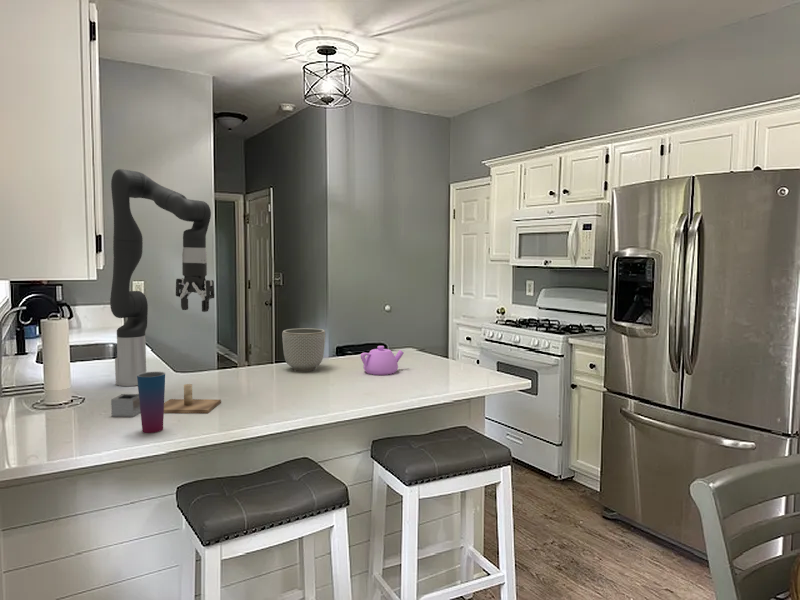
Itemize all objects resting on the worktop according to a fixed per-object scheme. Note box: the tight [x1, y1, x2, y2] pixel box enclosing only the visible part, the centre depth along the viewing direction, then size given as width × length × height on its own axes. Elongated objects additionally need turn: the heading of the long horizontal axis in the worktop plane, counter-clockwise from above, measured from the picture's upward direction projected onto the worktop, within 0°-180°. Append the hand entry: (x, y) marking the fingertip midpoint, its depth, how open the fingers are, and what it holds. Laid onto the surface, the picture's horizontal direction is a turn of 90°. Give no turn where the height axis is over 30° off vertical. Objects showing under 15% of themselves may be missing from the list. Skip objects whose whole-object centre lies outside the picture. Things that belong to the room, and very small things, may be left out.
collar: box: [110, 393, 141, 418], centre depth 163 cm, size 6×6×5 cm
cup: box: [137, 371, 166, 434], centre depth 147 cm, size 7×7×15 cm
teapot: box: [360, 345, 404, 376], centre depth 224 cm, size 14×20×11 cm
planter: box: [281, 327, 326, 373], centre depth 227 cm, size 17×17×16 cm
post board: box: [164, 383, 222, 414], centre depth 169 cm, size 16×12×7 cm
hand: (194, 310), depth 184 cm, fingers open, 8 cm apart
